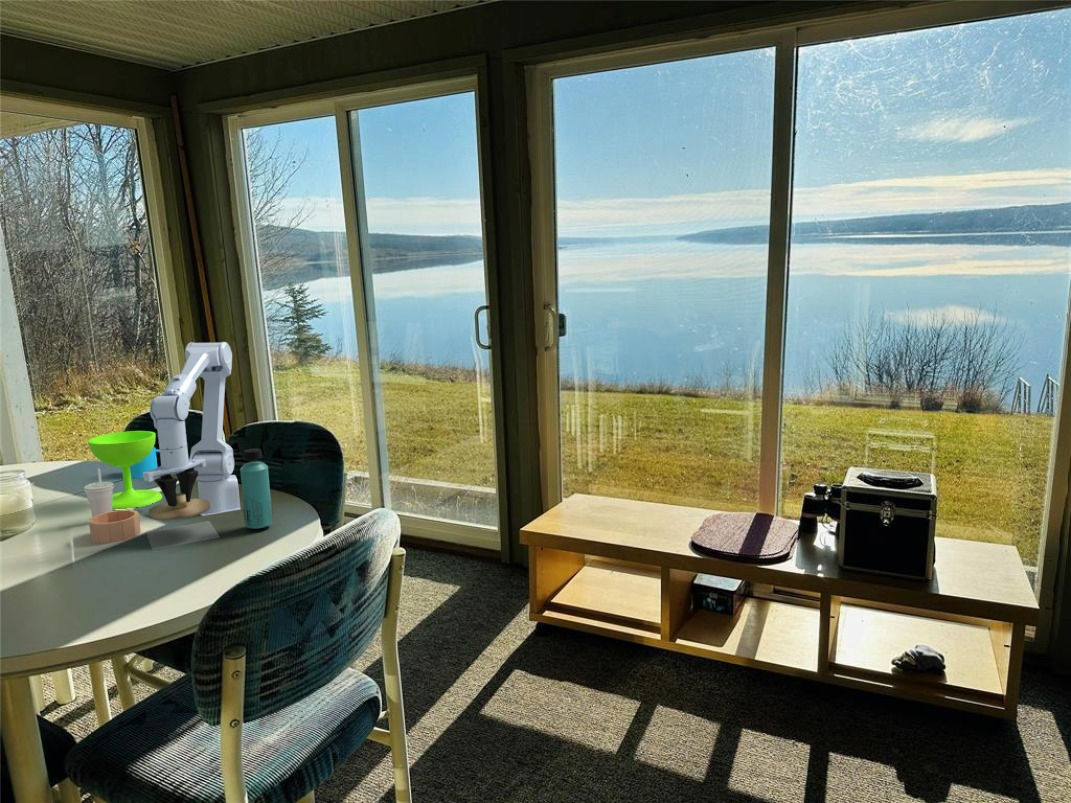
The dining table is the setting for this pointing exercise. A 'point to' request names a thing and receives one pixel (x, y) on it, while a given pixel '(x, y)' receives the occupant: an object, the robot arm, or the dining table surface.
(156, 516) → the lid
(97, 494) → the smoothie
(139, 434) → the wineglass
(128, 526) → the bowl
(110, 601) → the dining table surface
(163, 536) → the mat
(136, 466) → the mug
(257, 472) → the beverage bottle
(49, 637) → the dining table surface
